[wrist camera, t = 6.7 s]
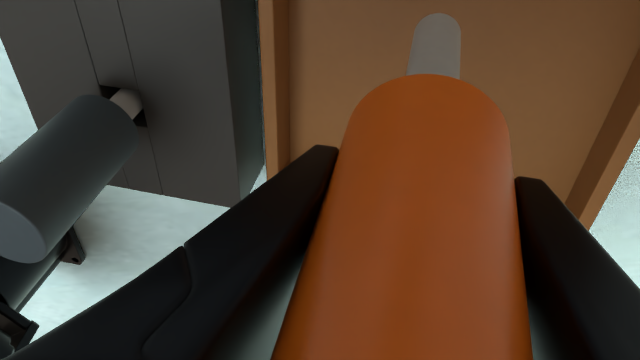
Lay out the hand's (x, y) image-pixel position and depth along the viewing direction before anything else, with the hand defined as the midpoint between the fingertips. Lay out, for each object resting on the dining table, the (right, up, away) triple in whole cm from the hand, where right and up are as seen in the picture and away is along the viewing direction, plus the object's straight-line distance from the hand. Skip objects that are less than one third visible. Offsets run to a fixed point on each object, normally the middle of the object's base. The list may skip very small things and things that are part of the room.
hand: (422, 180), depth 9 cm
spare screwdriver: (-9, +5, +15) cm, 19 cm away
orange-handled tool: (+1, +4, +5) cm, 6 cm away
